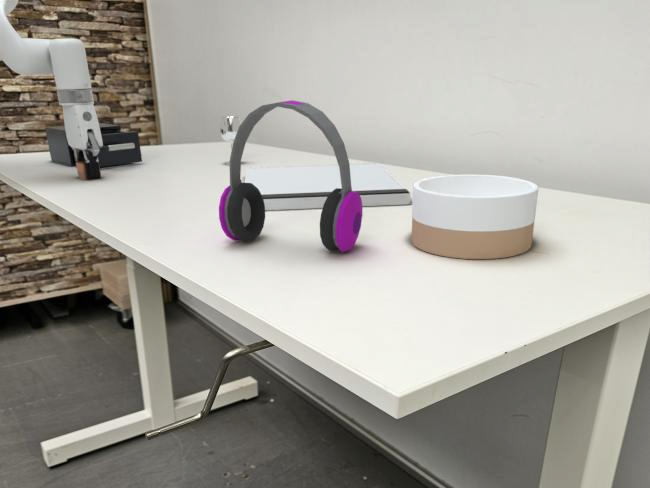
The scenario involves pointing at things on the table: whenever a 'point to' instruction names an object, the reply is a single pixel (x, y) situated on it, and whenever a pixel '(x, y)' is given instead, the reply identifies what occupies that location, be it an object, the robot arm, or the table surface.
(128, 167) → the table surface
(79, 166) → the block
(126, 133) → the black drawer
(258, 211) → the headphones
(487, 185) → the bowl
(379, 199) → the pale grey flat slab
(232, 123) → the wineglass
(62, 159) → the drawer box
